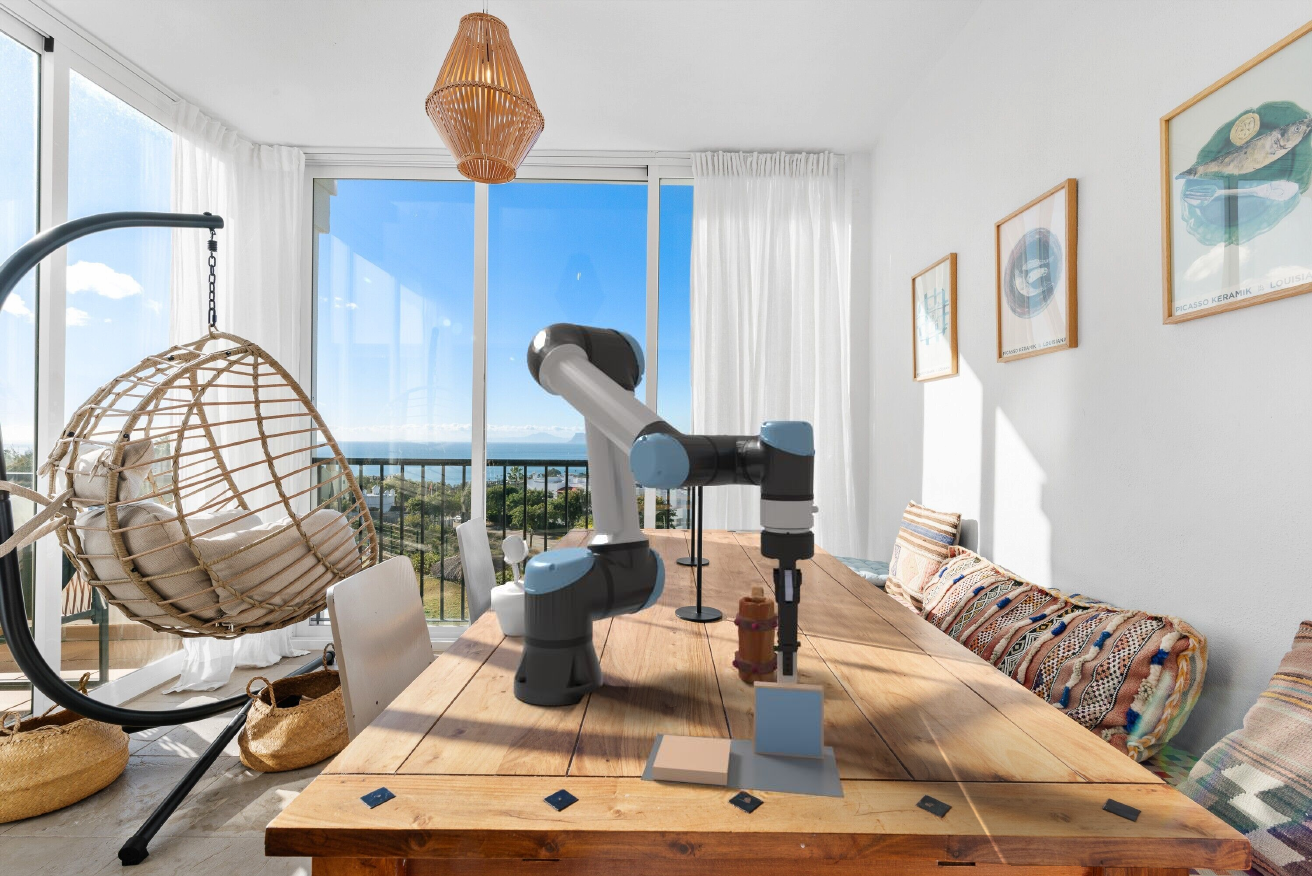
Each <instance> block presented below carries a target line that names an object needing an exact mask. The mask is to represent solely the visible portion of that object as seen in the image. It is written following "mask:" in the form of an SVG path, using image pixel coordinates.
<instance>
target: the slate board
mask: <svg viewBox="0 0 1312 876" xmlns="http://www.w3.org/2000/svg"><path fill="white" fill-rule="evenodd" d="M664 735H671V734H670V733H657V735H656V737H655V740H654V743H653V745H652V748H651V751H650V753H649V756H648V759H647V761H646V764H645V767H644V769H643V772H642V775H641V776H640V781H648V782H659V783H672V784H680V785H681V784H683V785H696V786H705V787H707V786H708V787H718V788H726V789H727V788H728V789H740V790H752V791H753V790H754V791H760V792H761V791H763V792H775V793H786V794H799V795H810V796H820V797H831V798H832V797H834V798H843V799H844V793H843V786H842V784H841V779H840V775H839V771H838V765H837V759H836V755H835V752H834V751H835V750H834V747H833V746H829V745H827V746H826V745H824V759H820V758H807V757H794V756H781V755H769V754H756V753H754V740H750V739H749V740H748V739H735V738H727V739H728V740H731V755H730V764H729V772H728V781H727V785H715V784H704V783H692V782H681V781H669V780H658V779H653V765H654V762H655V759H656V756H657V753H658V751H659V748H660V745H661V742H662V739H663V736H664ZM674 735H675V736H685V735H681V734H680V735H679V734H674ZM687 736H688V737H698V736H694V735H693V736H692V735H687ZM700 737H701V738H711V737H708V736H707V737H706V736H700ZM714 738H715V739H724V737H723V738H720V737H714Z"/></svg>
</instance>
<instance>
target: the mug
mask: <svg viewBox="0 0 1312 876" xmlns="http://www.w3.org/2000/svg"><path fill="white" fill-rule="evenodd" d="M750 593H751V595H750V596H743V597H742V598H741V599H739V601H738V611H737V613H736V615H735V619H734V620H733V623H734V625H735V626H736V627H737V635H738V638H737V639H738V650H736V651H735V652H734V660H732V662H731V663H732V667H733V668H736V669H737V670H738V671H737V674H738V675H737V676H738V677H739V678H740V679H741V680H742V681H744V682H748V683H753V684H754V681H759V682H771V681H772V680H773V679H774V677H775V671H777V652H776V651H773V646H775V639H776V638H775V636H776V635H775V634H776V629H777V628H778V614H776V613H775V601H774V600H773V599H771V598H767V597H765V596H764V595H765V592H764V588H763V587H762V586H752V587H751V592H750Z"/></svg>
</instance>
